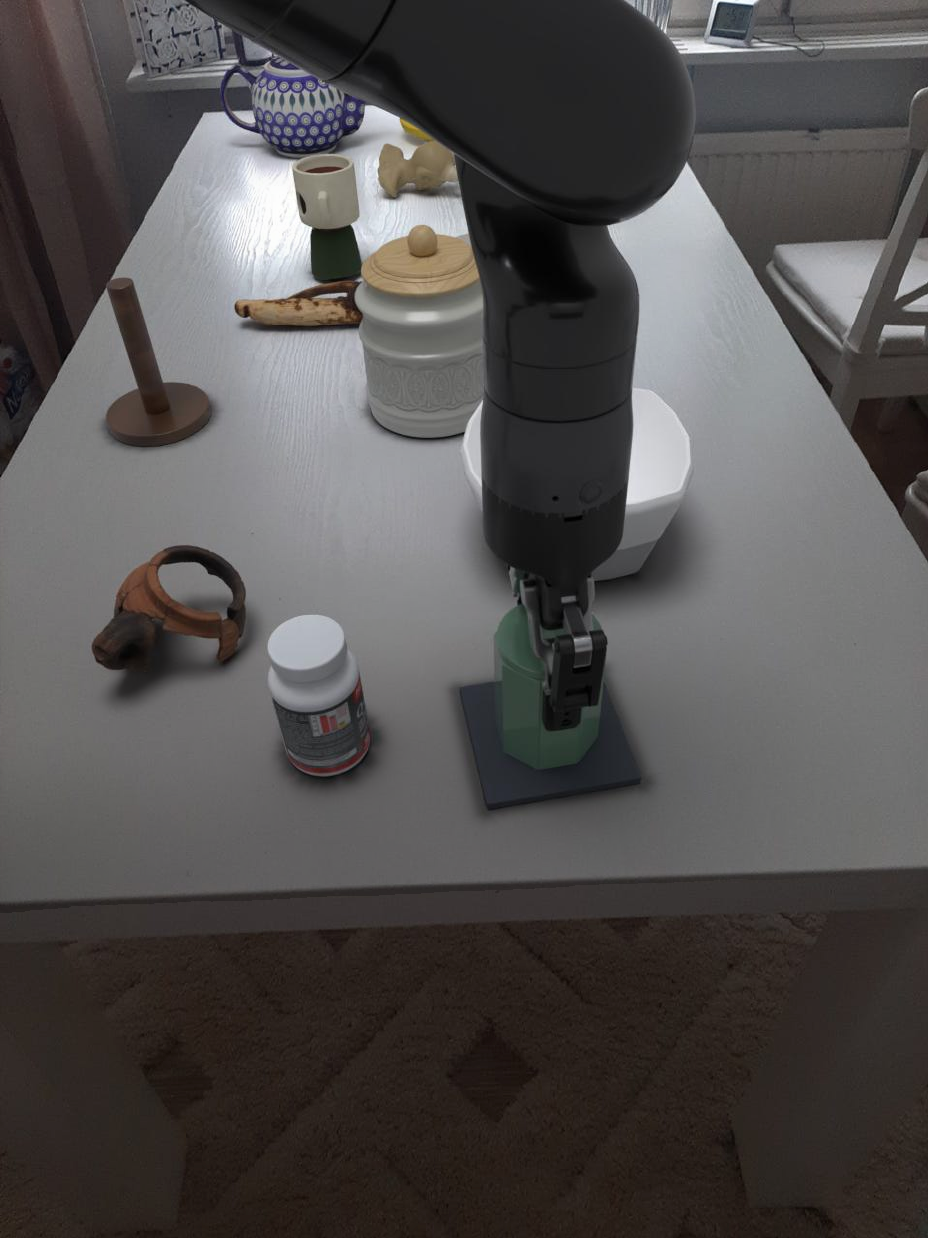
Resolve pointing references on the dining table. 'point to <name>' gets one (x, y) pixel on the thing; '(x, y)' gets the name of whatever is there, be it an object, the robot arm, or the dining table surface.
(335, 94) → the teapot
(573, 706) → the robot arm
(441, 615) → the dining table surface
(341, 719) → the pill bottle
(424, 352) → the jar
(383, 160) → the cat figurine
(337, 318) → the bone fish hook
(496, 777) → the coaster
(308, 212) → the character mug
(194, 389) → the holder
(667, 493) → the bowl
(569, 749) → the cup
